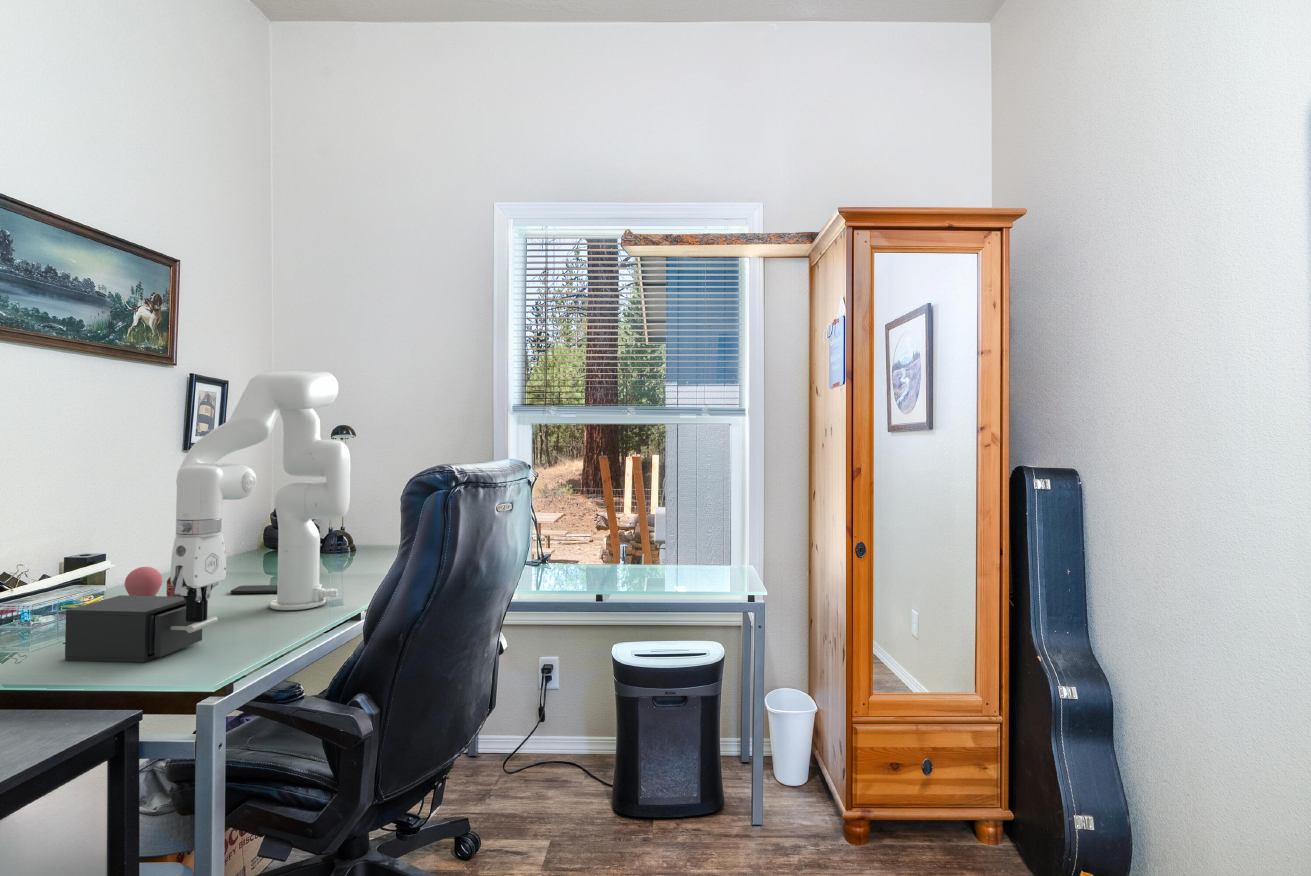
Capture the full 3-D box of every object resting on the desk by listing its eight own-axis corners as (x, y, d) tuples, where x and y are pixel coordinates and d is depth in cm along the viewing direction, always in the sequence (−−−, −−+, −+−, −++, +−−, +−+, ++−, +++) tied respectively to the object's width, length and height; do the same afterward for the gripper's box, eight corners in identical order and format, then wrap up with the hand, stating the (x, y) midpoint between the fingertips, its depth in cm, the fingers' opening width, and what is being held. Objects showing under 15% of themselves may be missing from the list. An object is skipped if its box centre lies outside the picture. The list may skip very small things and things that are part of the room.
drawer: (224, 640, 141) (225, 602, 141) (184, 657, 130) (185, 616, 130) (134, 638, 142) (134, 600, 142) (86, 655, 130) (87, 614, 131)
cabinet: (192, 643, 142) (192, 596, 142) (144, 662, 129) (145, 611, 129) (119, 641, 143) (120, 595, 143) (64, 660, 130) (65, 609, 130)
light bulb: (116, 619, 159) (117, 568, 159) (149, 612, 166) (150, 563, 166) (136, 623, 157) (137, 570, 157) (168, 616, 163) (169, 565, 163)
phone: (288, 590, 189) (229, 591, 186) (288, 593, 189) (228, 594, 186) (297, 584, 196) (240, 585, 193) (297, 587, 196) (240, 588, 193)
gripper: (190, 532, 128) (187, 631, 128) (241, 524, 143) (239, 612, 143) (151, 532, 128) (148, 630, 128) (206, 523, 143) (204, 611, 143)
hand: (196, 620), depth 135 cm, fingers closed
